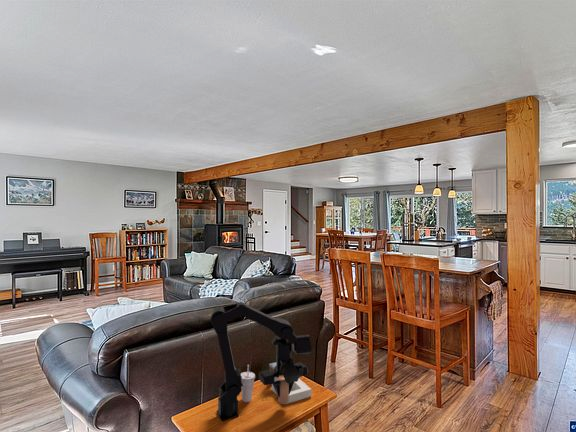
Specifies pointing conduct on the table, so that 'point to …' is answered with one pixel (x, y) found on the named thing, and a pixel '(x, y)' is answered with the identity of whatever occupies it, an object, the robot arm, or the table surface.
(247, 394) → the smoothie
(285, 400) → the peg
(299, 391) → the socket board
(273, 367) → the grey arch
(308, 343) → the robot arm
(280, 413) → the table surface
